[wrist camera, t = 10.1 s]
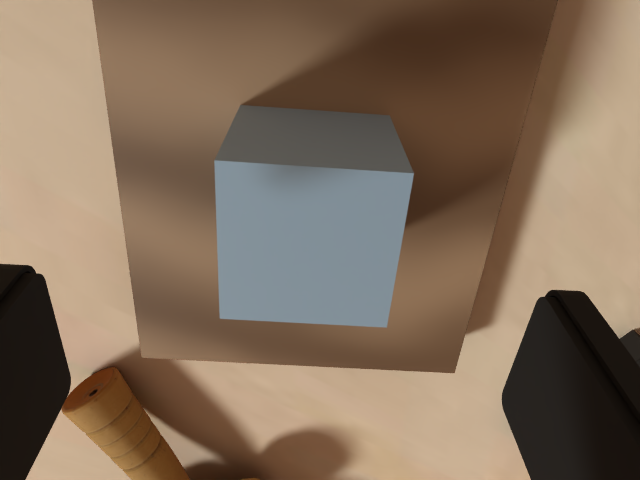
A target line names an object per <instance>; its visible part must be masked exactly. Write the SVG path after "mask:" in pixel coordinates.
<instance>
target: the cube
mask: <svg viewBox="0 0 640 480" xmlns="http://www.w3.org/2000/svg"><path fill="white" fill-rule="evenodd" d="M214 164H215V194H216V224H217V254H218V284H219V313H220V319H234V320H253V321H272V322H291V323H310V324H329V325H348V326H367V327H385V328H387V324H388V318H389V312H390V307H391V301H392V295H393V290H394V284H395V278H396V273H397V267H398V261H399V256H400V250H401V244H402V239H403V233H404V227H405V222H406V216H407V210H408V205H409V199H410V193H411V188H412V182H413V176H414V172H413V170H412V167H411V165H410V163H409V160H408V158H407V156H406V153H405V151H404V148H403V146H402V144H401V141H400V139H399V137H398V134H397V132H396V129H395V127H394V125H393V122H392V120H391V117H390V115H377V114H363V113H349V112H334V111H320V110H306V109H292V108H277V107H263V106H249V105H240V107H239V109H238V111H237V113H236V115H235V117H234V120H233V122H232V124H231V126H230V128H229V130H228V132H227V135H226V137H225V139H224V141H223V143H222V145H221V147H220V149H219V152H218V154H217V156H216V158H215V160H214Z"/></svg>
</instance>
